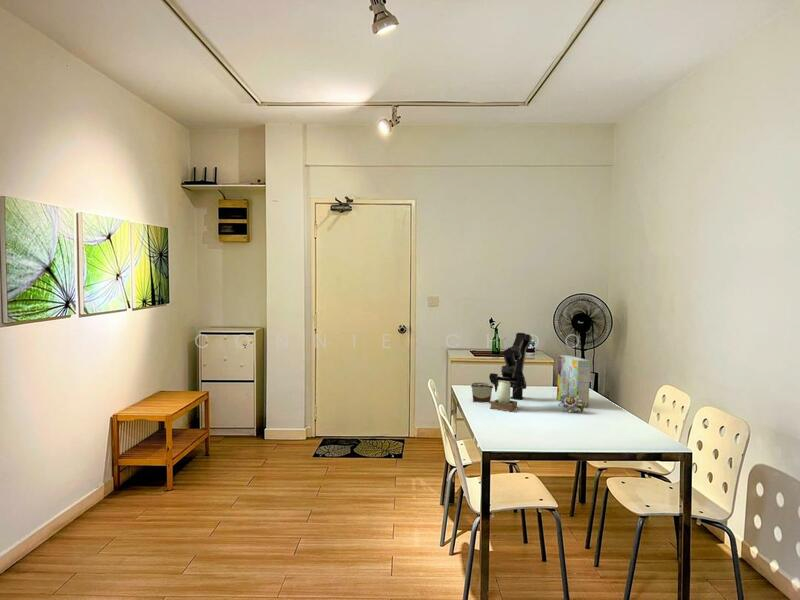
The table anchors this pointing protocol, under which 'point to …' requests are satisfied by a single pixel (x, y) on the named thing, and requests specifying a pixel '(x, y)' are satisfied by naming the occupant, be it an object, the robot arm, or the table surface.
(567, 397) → the passion flower
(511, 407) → the holder
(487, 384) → the food container
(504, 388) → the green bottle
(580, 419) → the table surface
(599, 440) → the table surface
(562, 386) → the snack box
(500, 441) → the table surface
